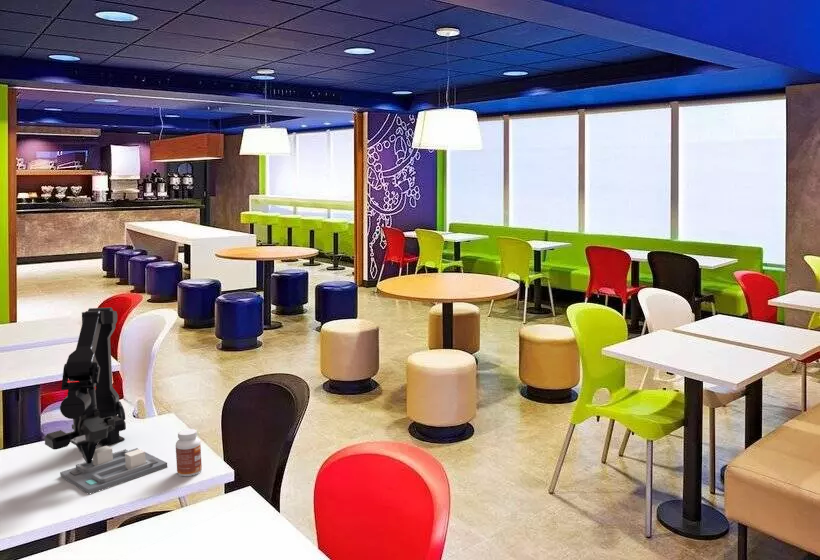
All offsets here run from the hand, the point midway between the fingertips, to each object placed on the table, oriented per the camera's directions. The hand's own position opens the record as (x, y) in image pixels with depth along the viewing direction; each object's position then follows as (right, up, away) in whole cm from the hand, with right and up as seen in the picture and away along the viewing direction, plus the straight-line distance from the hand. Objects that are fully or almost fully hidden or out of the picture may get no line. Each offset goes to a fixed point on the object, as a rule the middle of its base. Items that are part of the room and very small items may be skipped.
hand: (88, 463), depth 181 cm
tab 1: (+2, -1, +3) cm, 4 cm away
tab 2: (+12, -1, 0) cm, 12 cm away
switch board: (+6, -2, +1) cm, 7 cm away
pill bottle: (+26, -3, 0) cm, 26 cm away
